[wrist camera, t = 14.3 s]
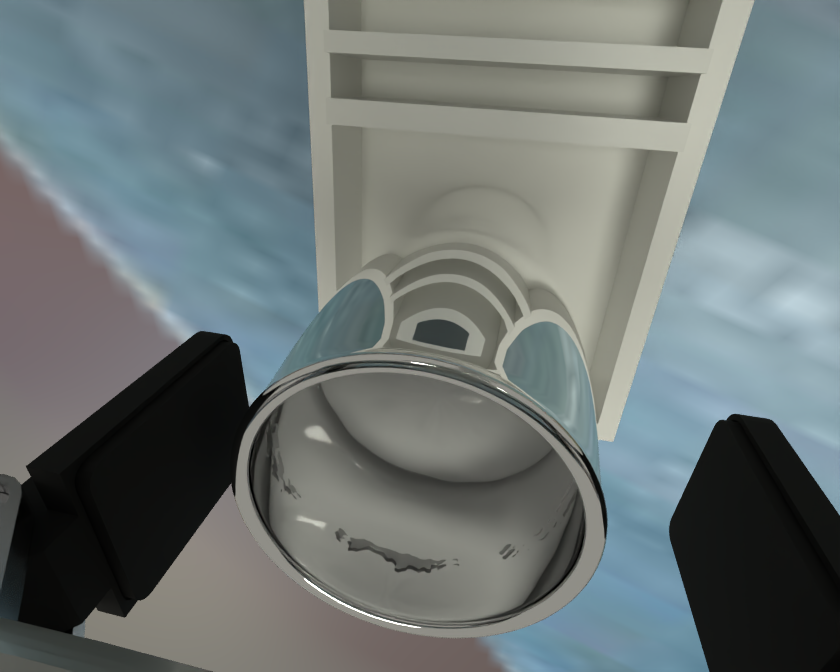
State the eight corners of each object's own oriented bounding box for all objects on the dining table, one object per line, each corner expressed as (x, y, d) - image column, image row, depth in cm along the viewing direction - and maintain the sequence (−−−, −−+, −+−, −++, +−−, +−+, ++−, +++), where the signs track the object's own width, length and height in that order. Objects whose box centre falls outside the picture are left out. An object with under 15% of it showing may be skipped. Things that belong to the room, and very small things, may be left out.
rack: (346, -232, 16) (-13, -892, 5) (774, -245, 14) (1576, -1309, 3) (353, 348, 26) (238, 523, 15) (598, 384, 24) (656, 610, 14)
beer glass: (452, 140, 19) (304, 247, 6) (592, 233, 20) (731, 509, 7) (376, 275, 23) (174, 530, 9) (497, 350, 23) (467, 688, 10)
